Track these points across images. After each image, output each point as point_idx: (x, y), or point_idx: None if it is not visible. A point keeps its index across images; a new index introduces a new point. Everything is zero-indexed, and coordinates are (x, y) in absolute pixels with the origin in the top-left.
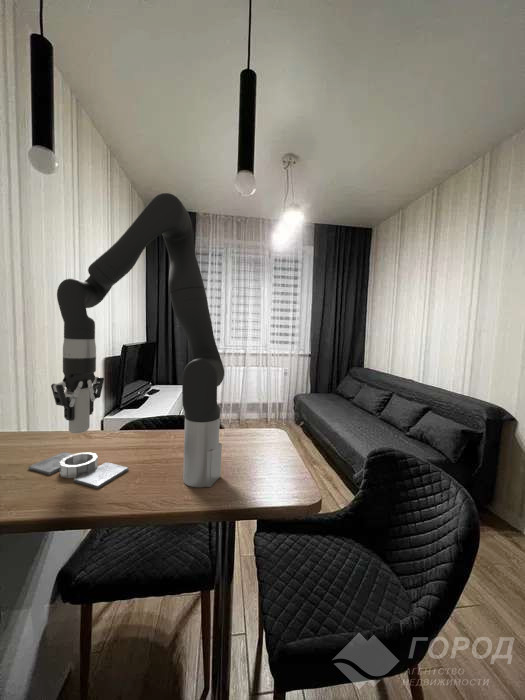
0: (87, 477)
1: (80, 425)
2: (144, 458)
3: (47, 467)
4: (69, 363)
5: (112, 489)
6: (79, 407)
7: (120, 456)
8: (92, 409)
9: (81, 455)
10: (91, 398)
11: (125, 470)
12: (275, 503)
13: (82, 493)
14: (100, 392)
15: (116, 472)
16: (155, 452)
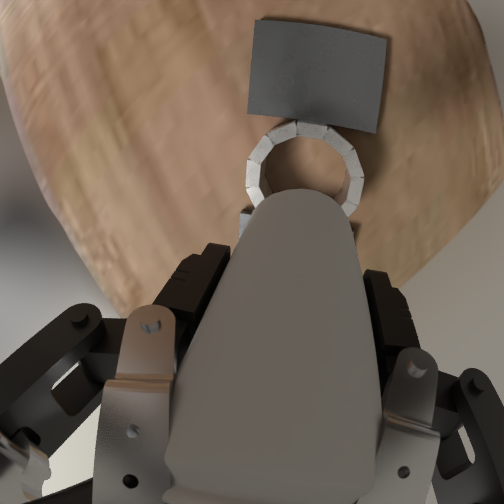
0: (356, 98)
1: (338, 216)
2: (169, 35)
3: None
4: None
5: (371, 2)
6: (358, 309)
7: (183, 114)
8: (189, 266)
9: None
10: (165, 339)
11: (269, 21)
12: None
13: (414, 69)
14: (44, 335)
15: (299, 32)
16: (124, 40)
